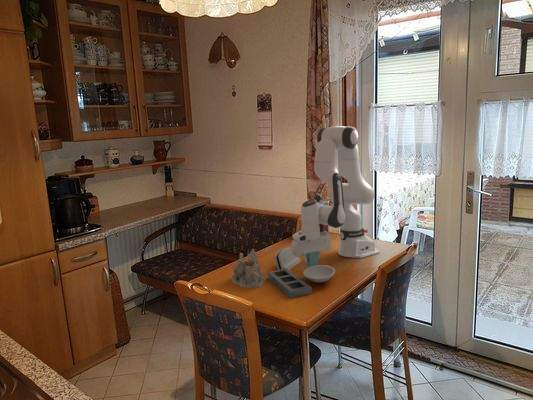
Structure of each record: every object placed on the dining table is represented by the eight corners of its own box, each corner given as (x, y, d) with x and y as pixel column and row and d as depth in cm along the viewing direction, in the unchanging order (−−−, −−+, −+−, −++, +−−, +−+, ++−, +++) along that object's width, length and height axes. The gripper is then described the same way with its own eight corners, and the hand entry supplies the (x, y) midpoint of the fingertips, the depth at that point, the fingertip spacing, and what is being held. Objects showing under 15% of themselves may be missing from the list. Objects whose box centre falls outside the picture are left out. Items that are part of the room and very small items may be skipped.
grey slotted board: (287, 274, 202) (286, 268, 202) (311, 293, 178) (311, 287, 178) (268, 278, 199) (267, 272, 198) (290, 298, 175) (290, 291, 174)
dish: (309, 273, 202) (308, 263, 201) (338, 276, 197) (338, 266, 196) (299, 287, 186) (298, 277, 185) (330, 290, 181) (330, 279, 180)
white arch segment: (286, 271, 206) (279, 252, 206) (278, 273, 209) (272, 254, 209) (301, 261, 220) (295, 243, 220) (294, 263, 223) (288, 245, 223)
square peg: (314, 264, 209) (313, 249, 207) (318, 267, 205) (317, 251, 203) (306, 266, 208) (305, 250, 206) (310, 268, 203) (309, 253, 202)
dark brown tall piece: (308, 239, 259) (307, 195, 253) (315, 235, 268) (314, 192, 263) (322, 241, 254) (321, 196, 249) (328, 236, 264) (327, 193, 259)
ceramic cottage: (234, 274, 205) (232, 246, 201) (267, 276, 203) (266, 247, 199) (226, 289, 190) (225, 258, 186) (261, 291, 188) (261, 260, 184)
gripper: (326, 229, 209) (327, 255, 212) (289, 235, 202) (290, 262, 205) (332, 232, 203) (333, 258, 206) (294, 238, 197) (296, 266, 199)
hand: (312, 260), depth 206 cm, fingers closed on square peg, 4 cm apart
